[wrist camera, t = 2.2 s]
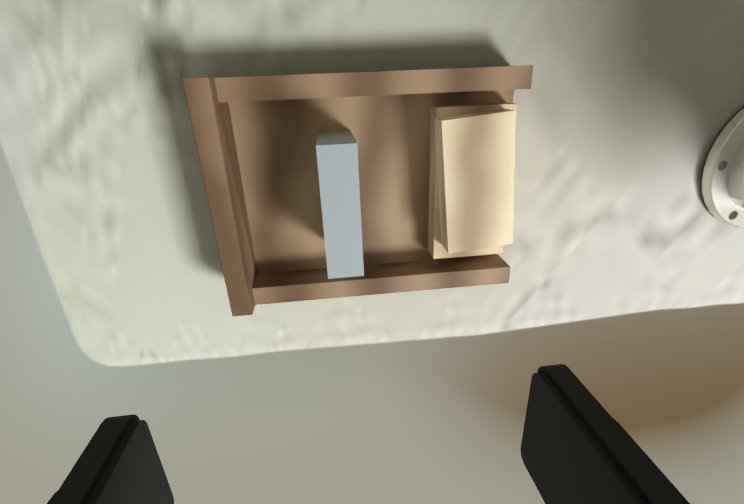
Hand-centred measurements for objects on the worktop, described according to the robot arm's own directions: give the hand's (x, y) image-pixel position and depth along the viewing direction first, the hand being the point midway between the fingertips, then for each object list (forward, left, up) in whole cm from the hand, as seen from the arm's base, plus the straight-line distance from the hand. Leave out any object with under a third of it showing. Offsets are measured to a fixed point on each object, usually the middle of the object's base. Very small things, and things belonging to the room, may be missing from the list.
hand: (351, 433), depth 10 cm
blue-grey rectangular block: (0, 0, -24) cm, 24 cm away
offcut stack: (-11, 0, -24) cm, 27 cm away
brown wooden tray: (-2, 0, -25) cm, 25 cm away
